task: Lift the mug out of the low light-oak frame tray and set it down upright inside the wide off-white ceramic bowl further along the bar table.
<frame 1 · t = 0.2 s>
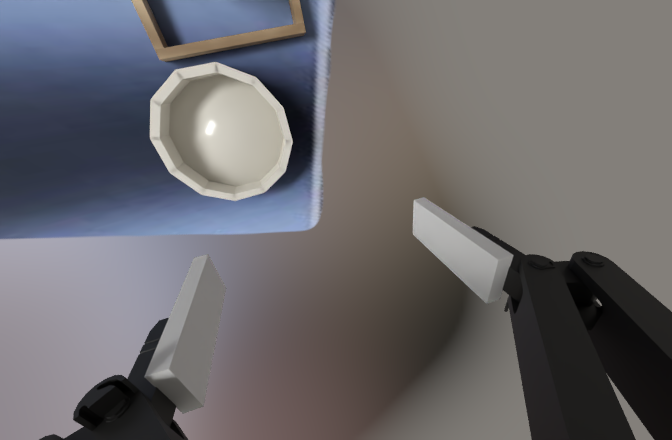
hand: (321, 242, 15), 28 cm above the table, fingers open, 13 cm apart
bowl: (230, 135, 35), on the table
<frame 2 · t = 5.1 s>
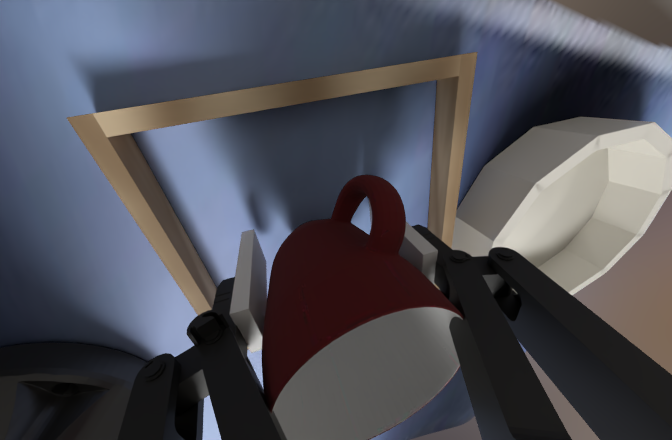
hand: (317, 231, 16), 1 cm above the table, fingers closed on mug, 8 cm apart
mug: (316, 227, 17), point 1 cm above the table, touching gripper
frame tray: (321, 219, 18), on the table
bowl: (528, 214, 23), on the table
when the fingers open (2 cm above the table, at t = 10.7 s): mug moves 2 cm, resting on bowl.
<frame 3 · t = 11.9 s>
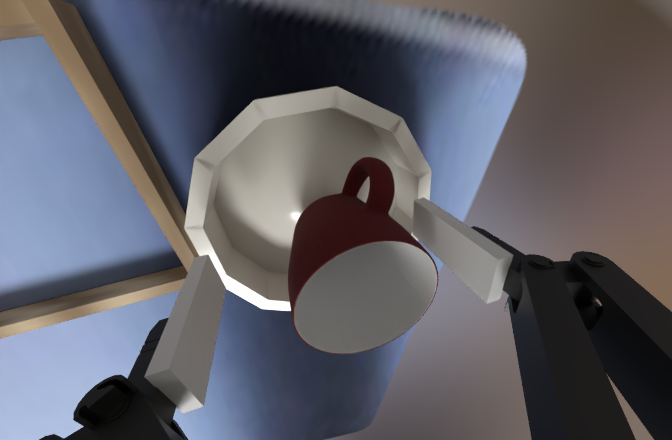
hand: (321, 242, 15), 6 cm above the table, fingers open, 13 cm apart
mug: (329, 203, 20), point 1 cm above the table, touching bowl
bowl: (313, 202, 21), on the table
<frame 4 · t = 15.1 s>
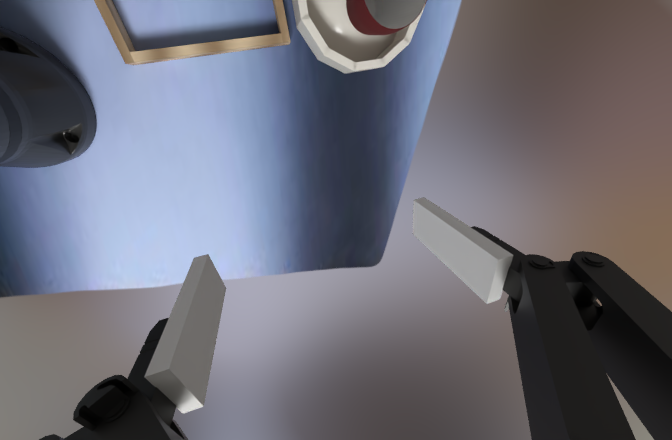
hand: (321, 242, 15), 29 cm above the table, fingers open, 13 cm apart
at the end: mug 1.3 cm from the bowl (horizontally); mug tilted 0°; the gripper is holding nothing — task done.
